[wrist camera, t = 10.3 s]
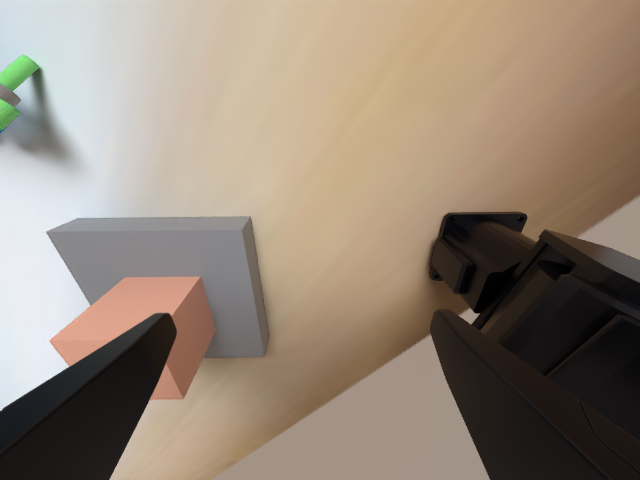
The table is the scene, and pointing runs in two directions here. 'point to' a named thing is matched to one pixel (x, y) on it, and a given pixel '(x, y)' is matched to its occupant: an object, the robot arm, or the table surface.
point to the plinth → (176, 267)
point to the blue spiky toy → (13, 87)
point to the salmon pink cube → (137, 305)
